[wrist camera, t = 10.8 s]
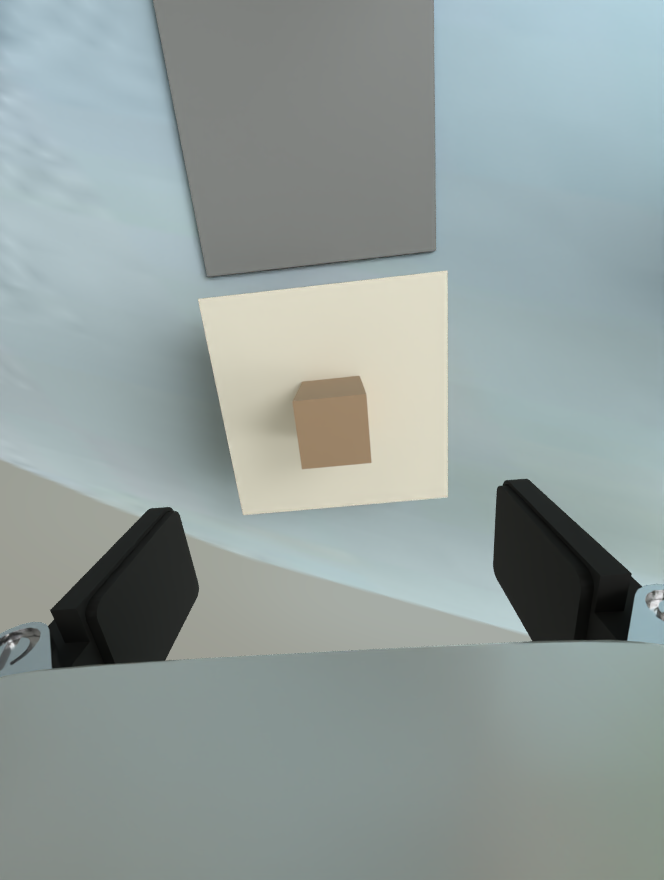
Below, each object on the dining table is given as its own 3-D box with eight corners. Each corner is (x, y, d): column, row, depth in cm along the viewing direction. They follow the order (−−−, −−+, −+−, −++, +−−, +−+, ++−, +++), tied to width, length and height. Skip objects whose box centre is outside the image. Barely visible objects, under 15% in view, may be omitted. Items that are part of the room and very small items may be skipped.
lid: (443, 271, 24) (483, 257, 17) (445, 492, 29) (475, 543, 23) (202, 299, 25) (154, 294, 18) (245, 510, 30) (220, 564, 23)
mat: (430, -68, 23) (432, -76, 22) (434, 251, 29) (435, 250, 28) (150, -26, 24) (146, -32, 23) (209, 277, 30) (207, 276, 29)
